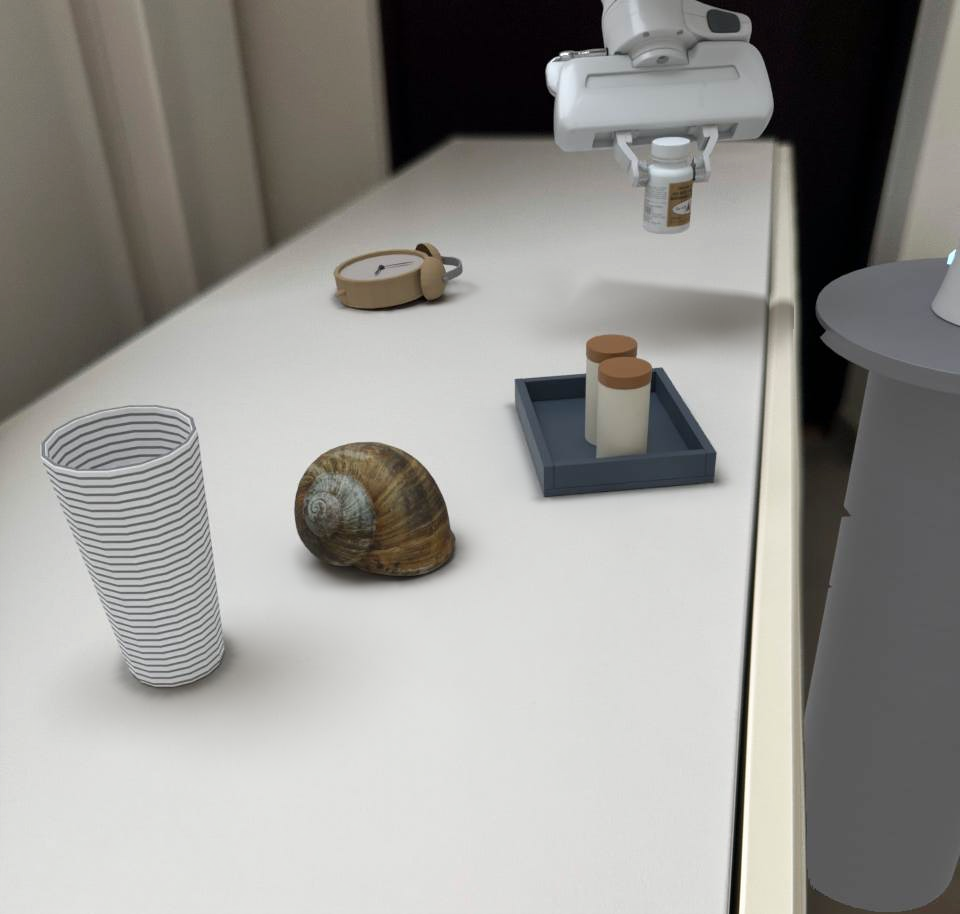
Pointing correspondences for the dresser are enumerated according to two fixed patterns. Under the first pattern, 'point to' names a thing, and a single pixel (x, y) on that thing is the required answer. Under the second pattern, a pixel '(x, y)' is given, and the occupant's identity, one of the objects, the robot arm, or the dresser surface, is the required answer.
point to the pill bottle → (668, 187)
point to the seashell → (373, 511)
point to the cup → (143, 534)
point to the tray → (572, 460)
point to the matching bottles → (616, 396)
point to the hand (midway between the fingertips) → (671, 181)
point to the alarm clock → (394, 276)
